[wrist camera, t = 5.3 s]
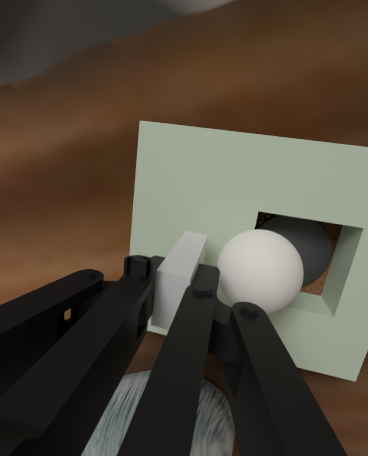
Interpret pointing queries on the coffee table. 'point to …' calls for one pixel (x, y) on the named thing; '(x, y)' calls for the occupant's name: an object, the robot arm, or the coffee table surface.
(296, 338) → the green board
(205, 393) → the grey streaked egg
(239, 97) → the coffee table surface
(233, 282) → the ball
